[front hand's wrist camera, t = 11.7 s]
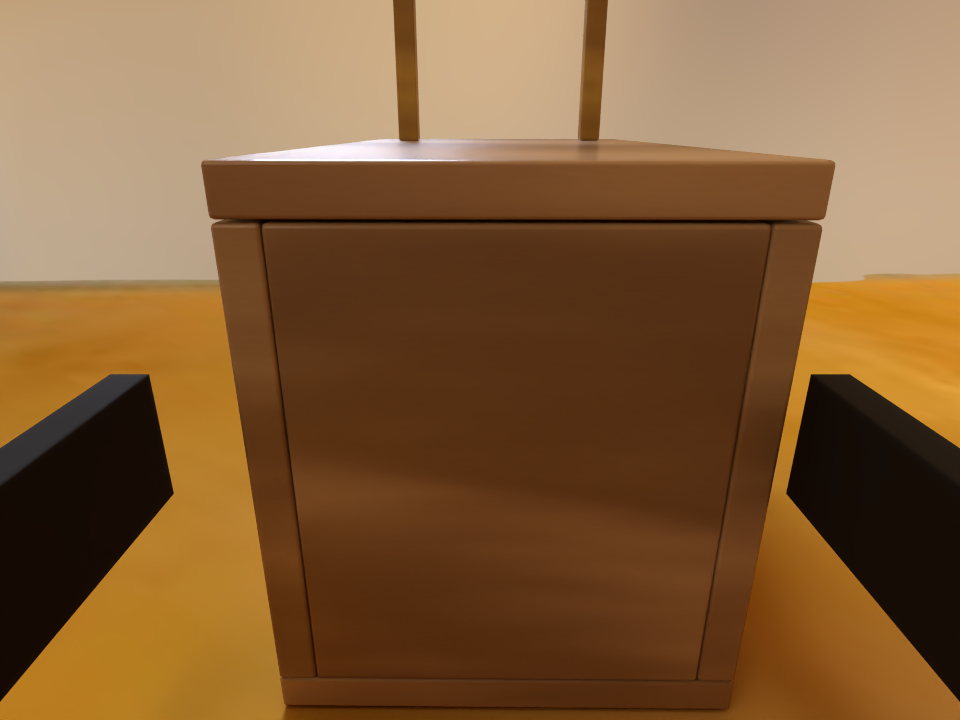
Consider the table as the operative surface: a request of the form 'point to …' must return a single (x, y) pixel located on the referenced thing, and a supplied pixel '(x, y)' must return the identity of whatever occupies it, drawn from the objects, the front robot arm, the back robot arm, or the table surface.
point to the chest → (512, 450)
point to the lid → (514, 169)
